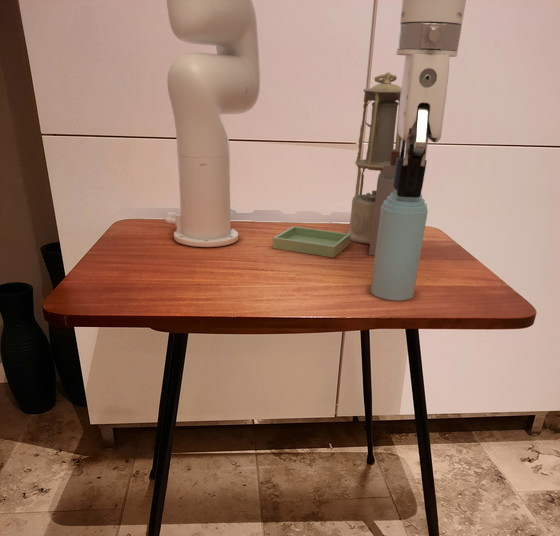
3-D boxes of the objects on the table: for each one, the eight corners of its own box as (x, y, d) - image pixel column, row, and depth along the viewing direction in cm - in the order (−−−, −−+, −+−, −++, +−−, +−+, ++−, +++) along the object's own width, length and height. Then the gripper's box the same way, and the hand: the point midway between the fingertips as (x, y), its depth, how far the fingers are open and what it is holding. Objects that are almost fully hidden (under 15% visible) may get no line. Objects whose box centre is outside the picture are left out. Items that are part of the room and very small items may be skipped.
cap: (423, 191, 75) (428, 162, 73) (393, 189, 75) (397, 160, 73) (420, 185, 78) (424, 158, 77) (391, 183, 79) (395, 156, 77)
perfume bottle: (405, 258, 101) (421, 154, 92) (368, 254, 102) (380, 151, 93) (405, 248, 107) (420, 149, 98) (370, 245, 108) (382, 147, 99)
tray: (272, 248, 104) (272, 237, 103) (292, 235, 112) (293, 226, 111) (333, 257, 100) (334, 246, 99) (349, 244, 108) (350, 234, 107)
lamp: (352, 245, 107) (369, 71, 93) (339, 228, 119) (352, 71, 104) (403, 245, 108) (427, 73, 94) (385, 228, 120) (405, 73, 105)
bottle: (365, 295, 83) (381, 164, 74) (376, 282, 88) (392, 158, 79) (408, 303, 81) (430, 169, 72) (417, 290, 86) (438, 163, 77)
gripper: (472, 40, 61) (442, 207, 70) (447, 46, 75) (425, 184, 84) (404, 37, 61) (383, 204, 70) (392, 44, 76) (377, 181, 85)
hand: (406, 192), depth 77 cm, fingers closed on cap, 3 cm apart
